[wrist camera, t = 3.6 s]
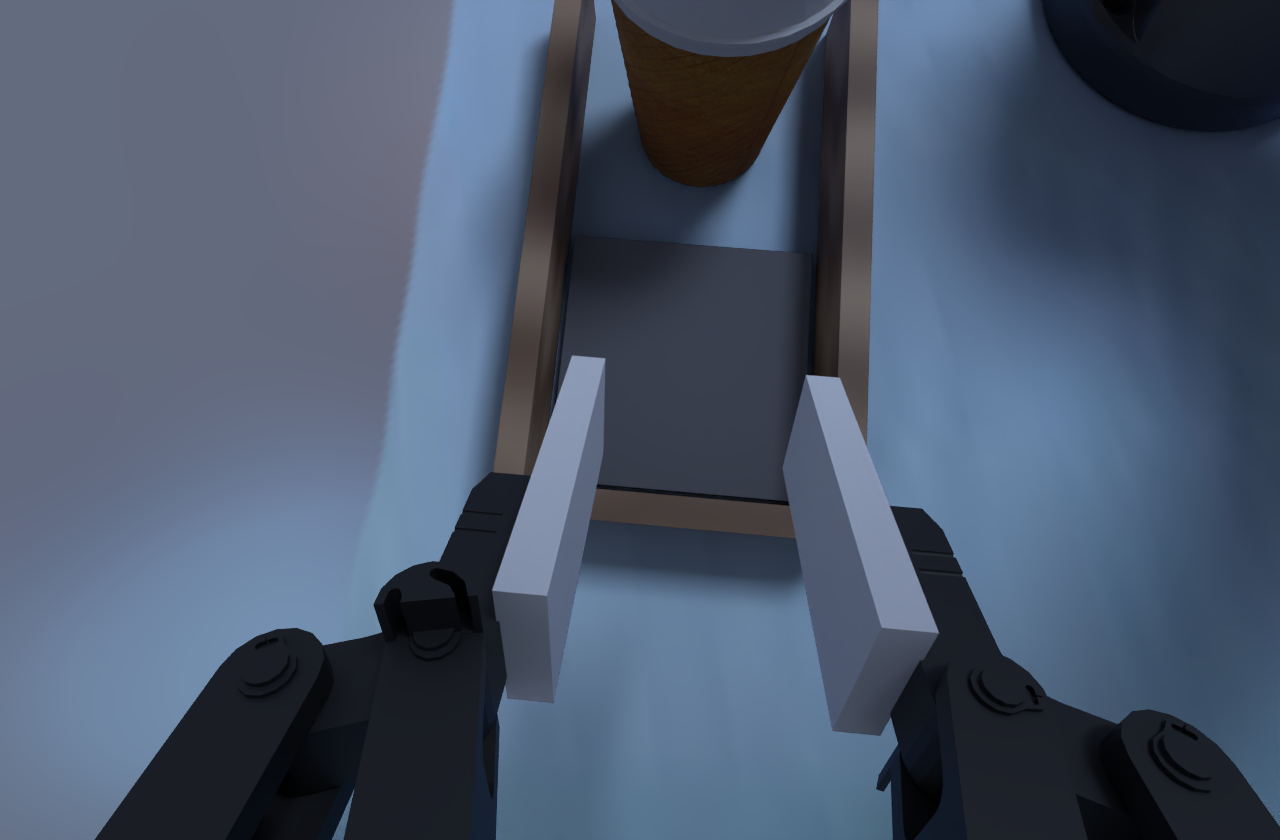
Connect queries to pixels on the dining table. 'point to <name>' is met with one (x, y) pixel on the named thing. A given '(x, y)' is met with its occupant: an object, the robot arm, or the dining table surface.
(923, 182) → the dining table surface
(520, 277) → the walnut channel
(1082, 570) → the dining table surface
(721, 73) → the disposable coffee cup
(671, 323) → the pad
